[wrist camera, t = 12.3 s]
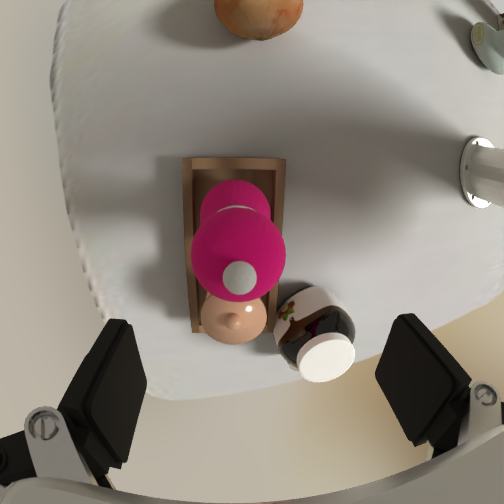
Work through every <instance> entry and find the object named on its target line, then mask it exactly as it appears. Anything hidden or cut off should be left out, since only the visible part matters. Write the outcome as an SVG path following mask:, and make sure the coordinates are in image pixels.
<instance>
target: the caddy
mask: <svg viewBox="0 0 504 504" xmlns="http://www.w3.org/2000/svg"><path fill="white" fill-rule="evenodd" d="M285 167H286V160H285V159H273V158H241V157H204V158H183V211H184V236H185V255H186V270H187V284H188V296H189V307H190V317H191V327H192V333H206V331H205V330H204V328H203V326H202V323H201V310H202V306H203V304H204V302H205V300H206V295H207V291H206V290H205V289H204V288H203V287H202V285H201V284H200V283H199V281H198V280H197V278H196V276H195V274H194V272H193V268H192V264H191V245H192V241H193V238H194V236H195V233H196V231H197V230H198V228H199V227H200V226H201V221H200V211H201V205H202V202H203V200H204V198H205V196H206V195H207V193H208V192H209V191H210V190H211V189H212V188H213V187H214V186H216V185H217V184H219V183H221V182H224V181H228V180H243V181H247V182H249V183H251V184H253V185H255V186H256V187H258V188H259V189H260V190H261V191H262V192H263V194H264V195H265V197H266V199H267V201H268V204H269V207H270V214H271V216H270V220H271V221H272V222H273V223H274V224H275V226H276V227H277V228H278V230H279V232H280V233H281V236H282V225H283V207H284V188H285ZM278 283H279V280H278V282H277V283H276V284H275V285H274V287H273V288H272V289H271V290H270V291H268V292H267V293H266V294H265V295H263V296H261V297H260V298H261V300H262V301H263V303H264V306H265V309H266V314H267V320H266V324H265V327H264V329H263V330H262V332H273V330H274V328H275V319H276V308H277V296H278Z"/></svg>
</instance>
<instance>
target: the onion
mask: <svg viewBox="0 0 504 504" xmlns="http://www.w3.org/2000/svg"><path fill="white" fill-rule="evenodd" d="M214 7H215V11H216V14H217V16H218V18H219V20H220V21H221V22H222V24H223V25H224V26H225V27H226V28H227V29H228V30H229V31H230V32H232V33H233V34H235V35H237V36H240V37H243V38H248V39H253V40H260V41H263V40H267V39H271V38H273V37H276V36H278V35H281V34H283V33H285V32H286V31H288V30H289V29H291V28H292V27H293V26H294V25H295V24H296V22H297V21H298V19H299V18H300V16H301V13H302V10H303V0H215V1H214Z"/></svg>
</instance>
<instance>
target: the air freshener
mask: <svg viewBox="0 0 504 504" xmlns="http://www.w3.org/2000/svg"><path fill="white" fill-rule="evenodd" d="M471 41H472V45H473V48H474V50H475V52H476V54H477V56H478V57H479V59H480V60H481V61H482V63H483V64H484V65H485V66H486V67H487V68H488V69H489V70H491V71H492V72H494V73H496V74H501V75H502V74H504V30H499V31H496V30H495V29H494V28H492V27H491V26H490V25H488V24H486V23H483V22H478V23H476V24H475V25H474V26H473V28H472V31H471Z"/></svg>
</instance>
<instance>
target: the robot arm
mask: <svg viewBox="0 0 504 504" xmlns="http://www.w3.org/2000/svg"><path fill="white" fill-rule="evenodd" d="M460 178H461V185H462V189H463V192H464V195H465V197H466V199H467V200H468V201H469V203H470V204H472V205H473V206H475V207H478V208H485V207H487V206H488V205H490V204H491V203H493V204H495V205H498V206H501V207H504V149H499V148H494V147H493V145H492V144H491V143H490V142H489V141H488V140H487V139H485V138H482V137H476V138H473V139H471V140H470V141H469V142H468V143H467V144H466V146H465V148H464V151H463V153H462V158H461V164H460ZM375 377H376V380H377V382H378V384H379V385H380V387H381V389H382V391H383V393H384V394H385V396H386V398H387V400H388V402H389V404H390V406H391V408H392V409H393V411H394V413H395V415H396V417H397V419H398V421H399V423H400V425H401V426H402V428H403V431H404V433H405V435H406V437H407V438H408V440H409V441H412V443H413V445H414V446H415V447H416V446H418V445H421V444H423V443H426V442H427V440H429V443H430V445H429V449H428V453H427V457H426V460H425V462H424V463H422V464H420V465H418V466H415V467H413V468H410V469H408V470H405V471H403V472H400V473H398V474H395V475H392V476H389V477H386V478H384V479H380V480H377V481H374V482H371V483H368V484H364V485H361V486H357V487H353V488H349V489H345V490H341V491H337V492H333V493H328V494H323V495H318V496H312V497H306V498H299V499H292V500H285V501H274V502H261V503H235V504H504V402H501V400H500V394H499V392H498V390H497V389H496V388H495V387H494V386H493V385H492V384H490V383H488V382H484V381H479V382H476V383H474V384H473V385H472V387H471V388H469V386H468V385H469V384H470V382H471V380H472V379H471V378H470V377H469V375H468V374H467V373H466V372H465V370H464V369H463V368H462V367H461V366H460V364H459V363H458V362H457V361H456V360H455V359H454V357H453V356H452V355H451V354H450V353H449V352H448V351H447V349H446V348H445V347H444V346H443V345H442V344H441V343H440V342H439V340H438V339H437V338H436V337H435V336H434V335H433V334H432V333H431V331H430V330H429V329H428V328H427V327H426V326H425V325H424V324H423V323H422V322H421V321H420V320H419V319H418V317H417V316H416V315H415V314H413V313H409V314H401V315H399V316H398V317H397V319H395V320H394V322H393V325H392V328H391V331H390V334H389V336H388V339H387V342H386V345H385V348H384V350H383V353H382V356H381V358H380V361H379V363H378V366H377V368H376V371H375ZM146 387H147V380H146V376H145V372H144V369H143V366H142V362H141V358H140V355H139V351H138V347H137V343H136V339H135V335H134V331H133V327H132V325H131V324H128V323H127V321H126V320H123V319H109V320H108V322H107V323H106V325H105V327H104V328H103V330H102V331H101V333H100V335H99V336H98V338H97V340H96V342H95V343H94V345H93V347H92V348H91V350H90V351H89V353H88V354H87V355H86V356H85V358H84V360H83V362H82V363H81V365H80V367H79V368H78V370H77V372H76V374H75V376H74V377H73V379H72V381H71V383H70V385H69V387H68V389H67V391H66V392H65V394H64V396H63V398H62V400H61V402H60V404H59V406H58V408H57V409H54V408H52V407H46V406H44V407H39V408H36V409H34V410H33V411H32V412H30V413H29V415H28V416H27V418H26V419H25V424H24V430H23V431H20V432H18V433H15V434H12V435H10V436H7V437H3V438H1V439H0V504H229V503H199V502H186V501H177V500H169V499H161V498H154V497H148V496H142V495H137V494H132V493H127V492H123V491H118V490H116V489H115V487H114V485H113V484H112V482H111V480H110V479H109V477H108V475H107V474H108V471H109V467H113V468H117V469H121V466H122V462H123V463H126V462H127V460H128V456H129V452H130V447H131V444H132V440H133V435H134V432H135V427H136V424H137V419H138V416H139V413H140V409H141V405H142V402H143V398H144V395H145V391H146ZM232 504H234V503H232Z"/></svg>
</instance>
